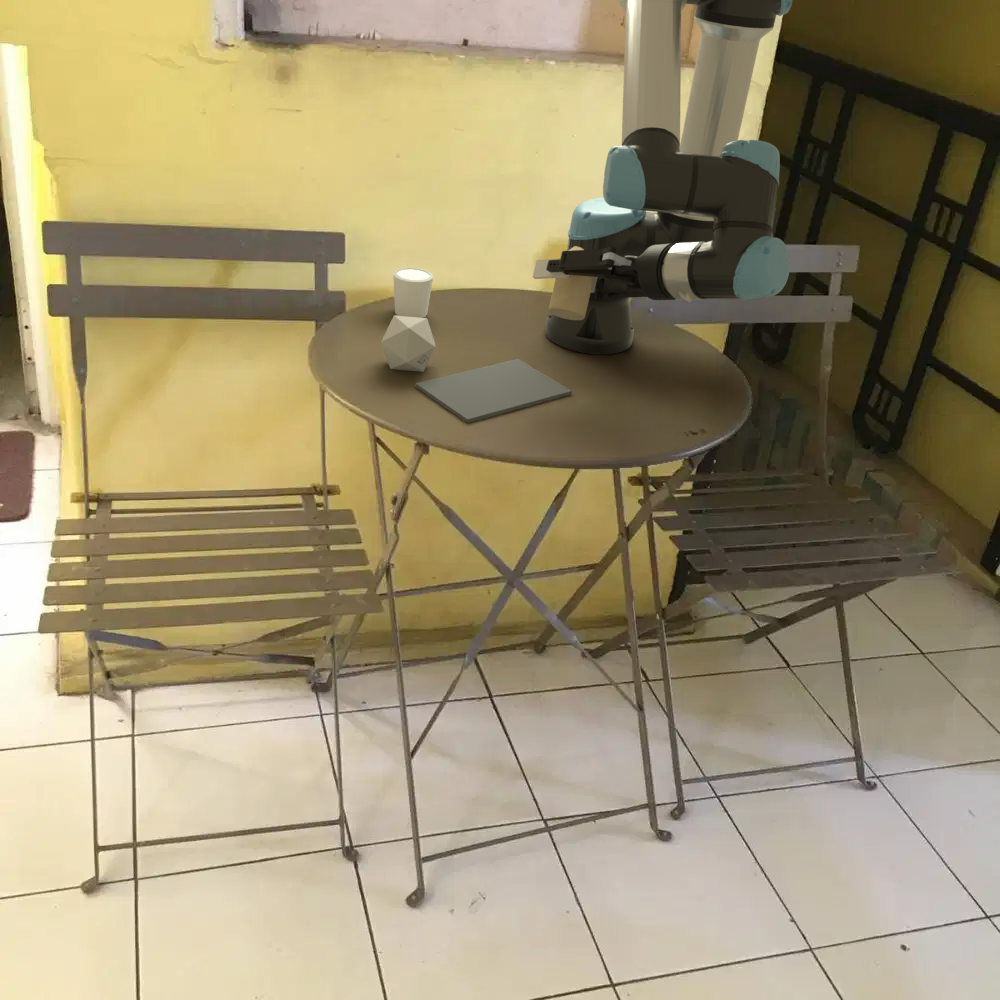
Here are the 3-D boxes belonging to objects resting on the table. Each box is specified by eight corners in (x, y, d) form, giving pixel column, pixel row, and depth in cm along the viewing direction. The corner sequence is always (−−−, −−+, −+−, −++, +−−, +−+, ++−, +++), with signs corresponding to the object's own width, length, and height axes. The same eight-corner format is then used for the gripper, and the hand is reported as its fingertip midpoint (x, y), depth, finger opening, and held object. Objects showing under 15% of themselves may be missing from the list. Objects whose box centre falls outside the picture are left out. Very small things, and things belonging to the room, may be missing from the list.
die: (412, 388, 154) (449, 336, 152) (365, 353, 152) (402, 301, 151) (414, 383, 162) (449, 334, 160) (369, 351, 160) (405, 301, 159)
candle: (570, 308, 146) (585, 242, 147) (540, 308, 150) (555, 243, 151) (591, 321, 151) (606, 256, 151) (562, 320, 154) (577, 257, 155)
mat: (517, 362, 164) (518, 358, 164) (571, 394, 156) (571, 390, 155) (415, 386, 153) (415, 383, 152) (467, 423, 144) (467, 419, 144)
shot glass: (415, 323, 173) (417, 284, 170) (383, 312, 176) (385, 273, 172) (438, 313, 178) (441, 274, 175) (406, 302, 181) (409, 264, 177)
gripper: (631, 273, 131) (503, 278, 147) (705, 320, 145) (580, 320, 161) (644, 217, 132) (514, 229, 148) (717, 270, 145) (591, 275, 161)
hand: (549, 276), depth 154 cm, fingers closed on candle, 5 cm apart
